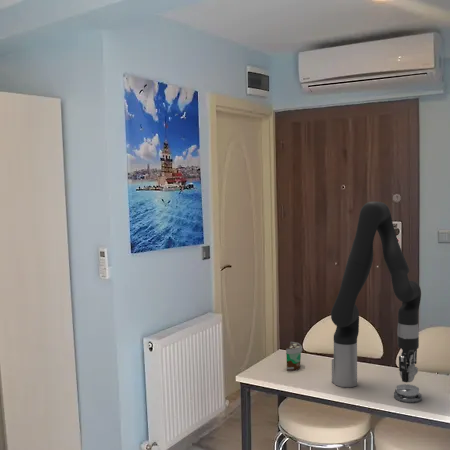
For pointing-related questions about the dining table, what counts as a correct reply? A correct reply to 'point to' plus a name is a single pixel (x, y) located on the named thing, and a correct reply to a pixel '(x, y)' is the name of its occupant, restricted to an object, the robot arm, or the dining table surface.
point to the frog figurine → (411, 372)
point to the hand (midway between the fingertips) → (408, 379)
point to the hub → (407, 393)
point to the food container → (293, 356)
